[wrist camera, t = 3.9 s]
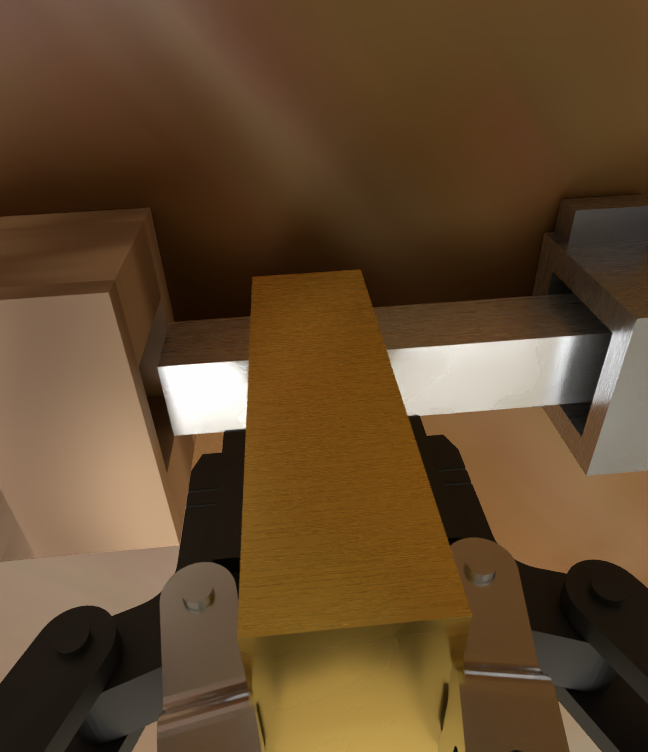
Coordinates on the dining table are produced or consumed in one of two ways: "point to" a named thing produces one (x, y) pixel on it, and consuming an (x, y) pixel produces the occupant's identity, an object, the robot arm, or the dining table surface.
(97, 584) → the dining table surface
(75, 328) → the socket block
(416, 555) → the slide bar
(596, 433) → the sleeve
